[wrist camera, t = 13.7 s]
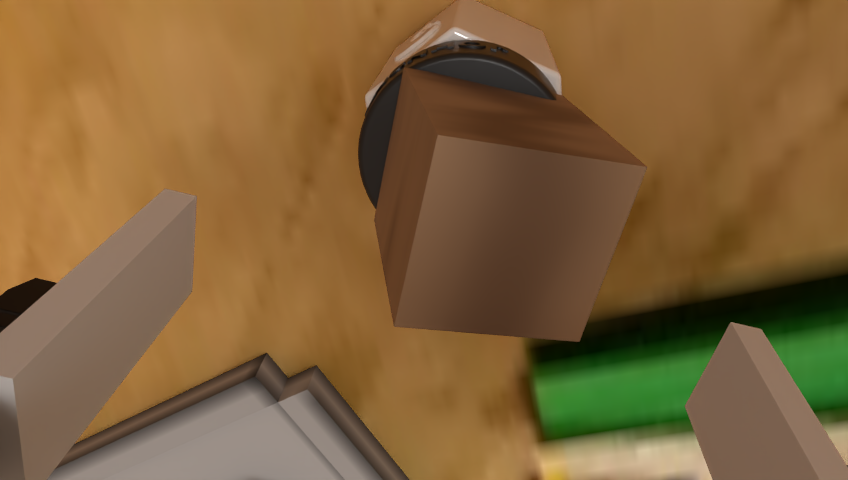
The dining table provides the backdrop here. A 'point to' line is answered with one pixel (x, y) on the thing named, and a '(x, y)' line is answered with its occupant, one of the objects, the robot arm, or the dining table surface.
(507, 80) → the jar
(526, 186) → the walnut block
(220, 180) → the dining table surface
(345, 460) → the grey tray
